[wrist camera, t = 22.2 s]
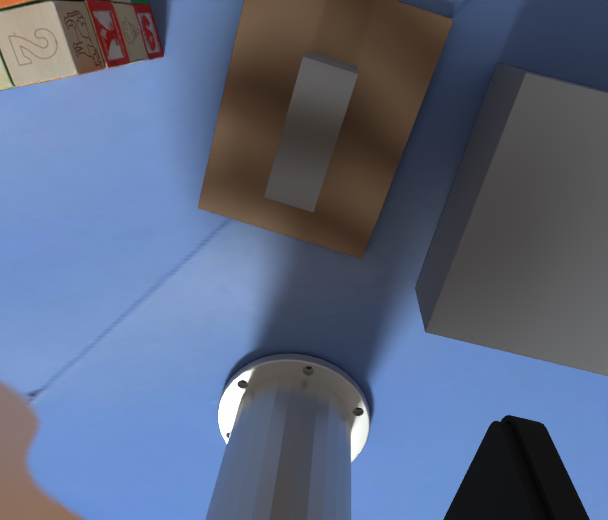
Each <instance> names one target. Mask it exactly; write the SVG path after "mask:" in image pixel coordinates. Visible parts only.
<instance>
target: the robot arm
mask: <svg viewBox="0 0 608 520" xmlns="http://www.w3.org/2000/svg"><path fill="white" fill-rule="evenodd" d="M218 424H219V427H220V431H221V434H222V436H223V438H224V440H225V442H226V444H227V446H226V449H225V453H224V456H223V460H222V463H221V467H220V470H219V474H218V477H217V481H216V484H215V488H214V491H213V495H212V498H211V502H210V505H209V509H208V512H207V516H206V519H205V520H351V462H352V461H354V460H355V459H356V457H357V456H358V455H359V454H360V453H361V451H362V450H363V448H364V446H365V444H366V442H367V440H368V435H369V431H370V414H369V407H368V403H367V401H366V398H365V395H364V393H363V392H362V390H361V389H360V387H359V386H358V384H357V383H356V382H355V381H354V380H353V379H352V378H351V377H350V376H349V375H348V374H347V373H346V372H344V371H343V370H341V369H340V368H338V367H337V366H335V365H333V364H331V363H329V362H327V361H325V360H323V359H319V358H316V357H312V356H309V355H302V354H293V353H291V354H276V355H271V356H266V357H262V358H260V359H258V360H255V361H253V362H250V363H249V364H247V365H246V366H244V367H243V368H241V369H240V370H238V371H237V372H236V373H235V374H234V375H233V376H232V377H231V378H230V380H229V382H228V383H227V385H226V386H225V388H224V391H223V393H222V396H221V399H220V402H219V407H218ZM443 520H590V519H589V517H588V515H587V513H586V511H585V509H584V507H583V505H582V502H581V500H580V498H579V496H578V494H577V492H576V490H575V488H574V486H573V483H572V481H571V479H570V477H569V475H568V473H567V471H566V469H565V467H564V464H563V462H562V460H561V458H560V456H559V454H558V452H557V450H556V448H555V445H554V443H553V441H552V439H551V437H550V435H549V433H548V431H547V429H546V427H545V426H544V424H542V423H540V422H536V421H532V420H528V419H524V418H519V417H515V416H511V415H507V416H505V417H504V418H503V419H502V420H501V422H499V421H494V422H492V423H491V425H490V426H489V428H488V430H487V432H486V434H485V436H484V438H483V440H482V442H481V444H480V446H479V448H478V451H477V453H476V455H475V457H474V459H473V461H472V463H471V465H470V467H469V469H468V471H467V473H466V475H465V477H464V479H463V481H462V483H461V485H460V487H459V489H458V491H457V493H456V495H455V497H454V499H453V501H452V503H451V505H450V507H449V509H448V511H447V513H446V515H445V517H444V519H443Z"/></svg>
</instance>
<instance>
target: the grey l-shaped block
mask: <svg viewBox="0 0 608 520" xmlns="http://www.w3.org/2000/svg"><path fill="white" fill-rule="evenodd" d="M415 290H416V295H417V299H418V303H419V307H420V312H421V316H422V320H423V324H424V328H425V332H427V333H431V334H435V335H439V336H443V337H448V338H452V339H456V340H460V341H464V342H468V343H473V344H477V345H481V346H485V347H489V348H493V349H497V350H502V351H506V352H510V353H514V354H518V355H522V356H527V357H531V358H535V359H539V360H543V361H547V362H551V363H556V364H560V365H564V366H568V367H572V368H576V369H581V370H585V371H589V372H593V373H597V374H601V375H605V376H607V375H608V91H605V90H601V89H597V88H593V87H589V86H585V85H581V84H577V83H574V82H570V81H566V80H562V79H558V78H554V77H550V76H546V75H542V74H538V73H534V72H530V71H526V70H522V69H518V68H514V67H511V66H507V65H503V64H499V63H497V64H496V66H495V69H494V72H493V75H492V77H491V80H490V83H489V86H488V88H487V91H486V94H485V97H484V100H483V102H482V105H481V108H480V111H479V113H478V116H477V119H476V122H475V124H474V127H473V130H472V133H471V135H470V138H469V141H468V144H467V146H466V149H465V152H464V155H463V157H462V160H461V163H460V166H459V168H458V171H457V174H456V177H455V179H454V182H453V185H452V188H451V190H450V193H449V196H448V199H447V201H446V204H445V207H444V210H443V213H442V215H441V218H440V221H439V224H438V226H437V229H436V232H435V235H434V237H433V240H432V243H431V246H430V248H429V251H428V254H427V257H426V259H425V262H424V265H423V268H422V270H421V273H420V276H419V279H418V281H417V284H416V287H415Z"/></svg>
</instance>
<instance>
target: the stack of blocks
mask: <svg viewBox="0 0 608 520" xmlns="http://www.w3.org/2000/svg"><path fill="white" fill-rule="evenodd" d="M163 56H164V55H163V51H162V47H161V44H160V40H159V36H158V33H157V29H156V25H155V22H154V18H153V15H152V11H151V7H150V5H149V3H148V0H0V91H1V90H6V89H11V88H17V87H22V86H27V85H32V84H37V83H42V82H47V81H52V80H58V79H63V78H68V77H73V76H77V75H82V74H86V73H91V72H95V71H100V70H104V69H109V68H114V67H119V66H124V65H129V64H135V63H140V62H145V61H149V60H153V59H158V58H162V57H163Z"/></svg>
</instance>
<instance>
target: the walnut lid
mask: <svg viewBox="0 0 608 520" xmlns="http://www.w3.org/2000/svg"><path fill="white" fill-rule="evenodd" d="M453 21H454V20H453V19H450V18H447V17H444V16H441V15H438V14H435V13H432V12H429V11H426V10H423V9H420V8H417V7H414V6H411V5H408V4H405V3H402V2H399V1H396V0H244V3H243V7H242V12H241V16H240V21H239V25H238V30H237V34H236V39H235V43H234V48H233V52H232V57H231V61H230V66H229V70H228V75H227V79H226V83H225V88H224V92H223V97H222V101H221V106H220V110H219V115H218V119H217V124H216V128H215V133H214V137H213V142H212V146H211V151H210V155H209V160H208V164H207V169H206V173H205V178H204V182H203V187H202V191H201V196H200V200H199V205H198V208H199V209H202V210H205V211H208V212H212V213H215V214H218V215H221V216H225V217H228V218H231V219H235V220H238V221H241V222H244V223H248V224H251V225H254V226H257V227H261V228H264V229H267V230H270V231H274V232H277V233H280V234H283V235H287V236H290V237H293V238H296V239H300V240H303V241H306V242H309V243H313V244H316V245H319V246H323V247H326V248H329V249H332V250H336V251H339V252H342V253H345V254H349V255H352V256H355V257H358V258H363V256H364V253H365V251H366V248H367V245H368V243H369V240H370V238H371V235H372V232H373V230H374V227H375V224H376V222H377V219H378V217H379V214H380V211H381V209H382V206H383V204H384V201H385V198H386V196H387V193H388V190H389V188H390V185H391V183H392V180H393V177H394V175H395V172H396V170H397V167H398V164H399V162H400V159H401V156H402V154H403V151H404V149H405V146H406V143H407V141H408V138H409V136H410V133H411V130H412V128H413V125H414V123H415V120H416V117H417V115H418V112H419V109H420V107H421V104H422V102H423V99H424V96H425V94H426V91H427V89H428V86H429V83H430V81H431V78H432V75H433V73H434V70H435V68H436V65H437V62H438V60H439V57H440V55H441V52H442V49H443V47H444V44H445V41H446V39H447V36H448V34H449V31H450V28H451V26H452V23H453Z"/></svg>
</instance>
